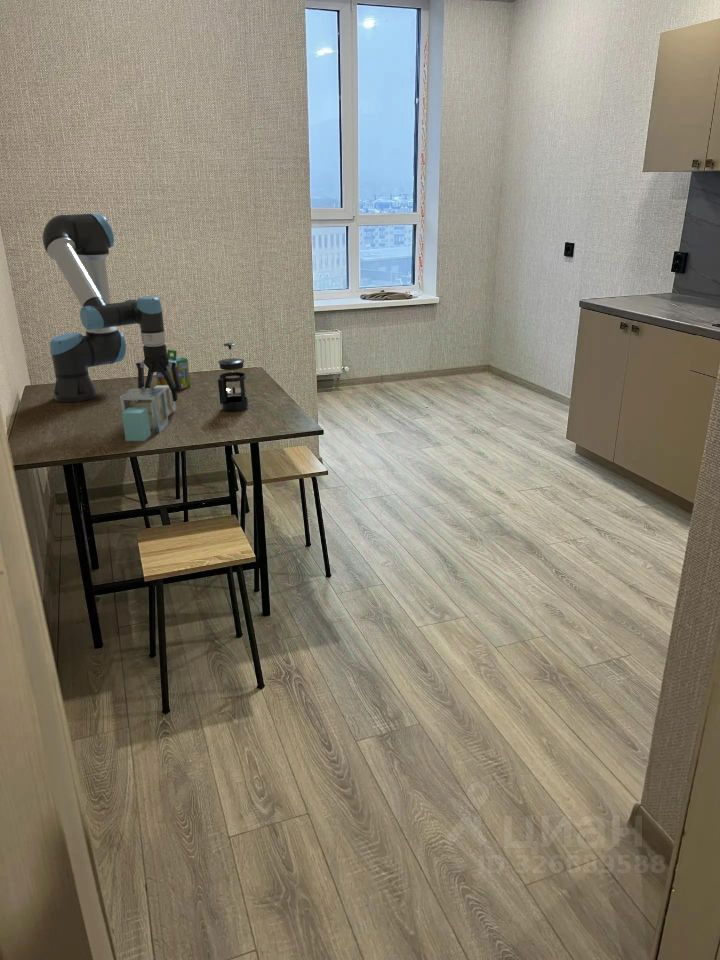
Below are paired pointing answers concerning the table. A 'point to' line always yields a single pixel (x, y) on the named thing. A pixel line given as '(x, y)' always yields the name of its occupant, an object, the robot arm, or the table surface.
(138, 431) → the block
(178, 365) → the chalk box
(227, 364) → the french press
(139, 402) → the bar
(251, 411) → the table surface
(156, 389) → the grey open box
